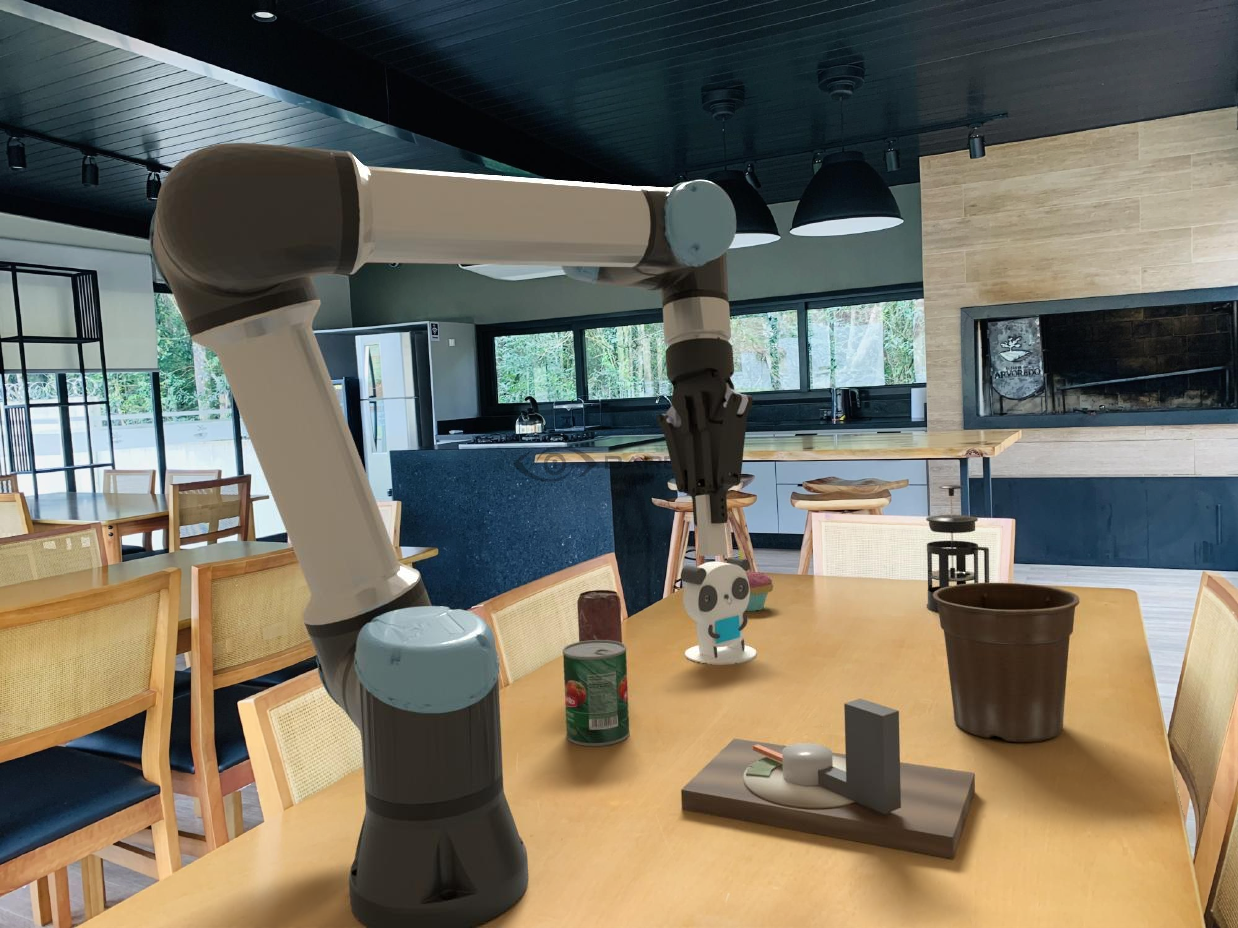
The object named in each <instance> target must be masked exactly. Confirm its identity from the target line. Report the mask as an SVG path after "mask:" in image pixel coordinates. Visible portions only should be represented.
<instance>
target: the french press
mask: <svg viewBox="0 0 1238 928" xmlns="http://www.w3.org/2000/svg"><path fill="white" fill-rule="evenodd" d="M938 488H939V489H940V490H941V489H942V490H948V496H949V498H950V501H949V502H950V514H940V515H934V516H933V515H932V516H931V515H930V516H928V517H926V519H925V520H926V521H927V522H928V526H929V529H930V531H932V533H934V532H935V533H942V534H950V540H937V541H935V540H934V541H930V542H927V543H926V552H927V553H926V554H927V557H926V560H927V604H926V609H927V608H928V609H927V610H929V611H931V610H932V612H934V611H936V612H935V613H939V611H938V604H937V602H936V601H935V600H934V598H933V593H934V592H935V591H937V590H938V589H941V588H945V587H949V586H950V582H952V583H953V582H954V583H955V582H956V585H961V584H967V582H969V581H973V583H979V551H983V555H984V556H983V557H984V558H983V559H984V560H983V561H984V563H983V565H984V567H983V568H984V569H983V570H984V583H990V549H989V547H986V546H985V547H984V546H979V544H978V543H976V542H972V541H967V540H954V534H963V533H973V532H976V522H978V517H977V516H976V517H975V516H970V515H964V514H963V515H962V514H954V513H953V510H954V509H953V507H954V504H953V503H954V502H953V497H954V496H955V490H959V489H963V488H964V486H963V485H959V484H945V485H941V486H939V487H938ZM933 555H938V570H934V571H933ZM970 555H973V571H968V570H967V568H966V567H967V566H966V565H967V564H966V563H967V559H966V556H970ZM949 557H950V558H951V560H950V561H951V567H949V562H950V561H949ZM954 557H956V558H955V563H956V564H955V563H954ZM954 564H955V566H954ZM955 567H956V568H955ZM933 580H935V581H938V583H939V585H938V586H933Z"/></svg>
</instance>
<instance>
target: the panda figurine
mask: <svg viewBox="0 0 1238 928" xmlns="http://www.w3.org/2000/svg"><path fill="white" fill-rule="evenodd" d="M750 564H751V563H750V561H749V560H748V559H747V558H743V559H741V558H740V557H734V556H729V557H728V558H727V559H726V561H725V562H722V561H708V562H705V563H702V564H700V565H698V566H692V565H685V566H684V567H682V569H681V572H680V578H681V581H682V582H684V583H685V585H684V589H683V595H682V604H683V607H684V609H685V612H686V613H687V615H688V616H689V617H690V618H691V619H692V620H693V621H695V624H696V625H695V626H696V627H695V628H696V633H697V635H696V636H697V645H695V646H692V647H689V648H688V649H686V650H685V652H684V656H686V657H687V658H688V659H687V658H686V657H685V658H686V659H687V660H689V661H691V660H692V661H691V662H693V661H695V662H694V663H697V662H700V663H699V664H702V663H707V664H706V665H711V664H712V665H713V666H714V665H715V666H726V665H735V663H737V664H742V663H746V662H749V661H752V660H753V659H755V658H756V656H757V650H756V649H755V648H754V647H751V646H748V645H746V644H745V638H744V637H745V636H744V629H745V627H746V626H747V624H748V621H749V620H748V615H747V614H746V613H745V612H746V611H745V610H746V608H747V605H748V602H749V597H750V586H749V581H748V578H747V575H746V572H748V571H749V570H750V566H751V565H750ZM745 571H746V572H745Z"/></svg>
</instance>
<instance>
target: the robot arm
mask: <svg viewBox="0 0 1238 928" xmlns="http://www.w3.org/2000/svg"><path fill="white" fill-rule="evenodd" d="M736 232H737V216H736V210H735V207H734V204H733V202H732V199H731V198H730V196H729V195H728V193H727V192H726V191H725V190H724V189H723V188H722V187H721V186H719V185H718V184H716V183H714V182H712V181H709V180H705V179H695V180H691V181H683V182H682V181H681V182H680V183H677V184H676V185H674V186H673V187H656V186H644V185H643V186H639V185H638V186H636V185H633V186H632V185H625V184H624V185H622V184H610V183H599V182H595V183H594V182H585V181H584V182H583V181H571V180H570V181H569V180H557V179H556V180H555V179H544V178H530V177H517V176H506V175H505V176H504V175H503V176H502V175H489V174H479V173H478V174H476V173H475V174H474V173H465V172H464V173H462V172H449V171H436V170H435V171H434V170H423V169H421V170H420V169H410V168H409V169H408V168H407V169H406V168H396V167H395V168H393V167H382V166H381V167H380V166H369V165H368V166H367V165H364V164H363V163H361V162H360V161H359V159H357V158H356V156H354V154H353V153H352V152H351V151H347V150H346V151H345V150H336V149H335V150H334V149H323V148H322V149H321V148H311V147H301V146H292V145H291V146H290V145H281V144H268V143H267V144H266V143H254V142H253V143H250V142H230V143H227V142H226V143H219V144H213V145H210V146H206V147H203V148H199V149H198V150H196V151H194V152H191V153H189V154H188V155H186V156H185V157H184V158H182V159H181V160H180V161H178V162H177V163H176V164H175V165H174V166H173V167H172V168H171V169H170V171H169V172H168V173H167V175H166V176H165V178H164V180H163V181H162V184H161V186H160V188H159V192H158V195H157V201H156V208H155V209H154V213H153V215H152V218H151V223H150V228H149V248H150V252H151V253H150V254H151V257H152V260H153V263H154V266H155V269H156V271H157V272H158V275H159V276H160V277H161V279H162V280H164V284H165V285H166V286H167V287H168V288H169V289H170V290H171V291H172V294H173V297H174V299H175V301H176V304H177V307H178V309H179V312H180V315H181V316H182V318H183V319H182V320H183V322H184V324H185V327H186V329H187V332H188V334H189V336H190V339H191V342H193V343H196V344H197V345H200V346H202V347H204V348H206V349H208V350H210V351H212V352H213V353H214V354H215V355H216V356H217V358H218V361H219V363H220V366H221V368H222V371H223V375H224V377H225V378H226V381H227V384H228V386H229V388H230V391H231V394H232V396H233V399H234V401H235V403H236V408H237V410H238V411H239V415H240V417H241V419H242V422H243V424H244V428H245V430H246V432H247V435H248V437H249V439H250V442H251V444H252V448H253V449H254V453H255V455H256V458H257V460H258V462H259V466H260V467H261V470H262V473H263V476H264V478H265V480H266V483H267V486H268V488H269V490H270V494H271V495H272V497H273V501H274V504H275V505H276V509H277V511H278V513H279V516H280V519H281V521H282V524H283V526H284V529H285V531H286V533H287V536H288V538H289V542H290V544H291V546H292V548H293V552H294V553H295V556H296V560H297V561H298V563H299V566H300V569H301V573H302V574H303V576H304V580H305V582H306V584H307V588H308V590H309V592H310V598H309V600H308V603H307V604H306V607H305V609H304V611H303V613H302V617H301V618H302V621H303V623H304V626H305V628H306V631H307V634H308V636H309V638H310V641H311V643H312V646H313V649H314V651H315V653H316V659H315V662H316V664H317V672H318V676H319V680H320V682H321V684H322V686H323V688H324V689H325V691H326V693H327V694H328V696H329V697H330V699H332V700H333V702H334V703H335V704H336V705H338V707H339V708H341V709H342V710H343V711H344V712H345V714H346V715H347V716H348V717H349V719H350V720H351V722H352V723H353V725H355V726H356V727H355V728H357V729H358V731H359V734H360V739H361V750H362V751H361V752H362V767H363V768H362V769H363V779H364V780H363V783H364V785H363V786H364V794H365V814H364V817H363V821H362V825H361V829H360V833H359V836H358V841H357V844H356V849H355V854H354V860H353V862H352V864H351V866H350V870H349V875H348V888H349V903H350V909H351V912H352V913H353V915H354V916H355V917H356V919H357V920H358V922H360V923H362V924H363V925H364V926H366V927H368V928H473V927H476V926H478V925H481V924H483V923H485V922H488V921H490V920H492V919H495V918H496V917H498V916H500V915H502V914H503V913H504V912H505V911H507V910H508V909H510V908H512V906H514V904H516V902H518V901H519V900H520V899H521V897H522V896H523V894H524V893H525V891H526V889H527V887H528V883H529V864H528V863H529V861H528V853H527V847H526V845H525V843H524V841H523V839H522V837H521V836H520V834H519V831H518V828H517V825H516V821H515V818H514V816H513V813H512V811H511V808H510V804H509V802H508V800H507V796H506V794H505V791H504V790H505V789H504V787H505V786H504V773H503V771H504V770H503V751H502V750H503V749H502V748H503V747H502V727H501V725H502V724H501V723H502V722H501V706H500V685H499V673H500V659H499V654H498V652H497V647H496V640H495V634H494V631H493V629H492V627H491V626H490V625H489V624H488V622H487V621H486V620H485V619H484V618H482V617H481V616H479V615H477V614H475V613H473V612H471V611H468V610H464V609H461V608H458V609H451V608H450V607H448V606H438V605H437V606H436V605H432V602H431V601H430V598H429V595H428V591H427V589H426V587H425V585H424V582H423V579H422V576H421V573H420V571H419V570H417V569H416V568H414V567H411V566H408V565H407V564H404V563H402V562H401V561H399V560H398V557H397V555H396V552H395V549H394V546H393V544H392V541H391V538H390V535H389V532H388V529H387V528H386V524H385V521H384V519H383V516H382V514H381V512H380V509H379V506H378V502H377V500H376V498H375V495H374V492H373V490H372V487H371V484H370V482H369V479H368V475H367V473H366V471H365V467H364V466H363V465H364V464H363V463H362V459H361V456H360V455H359V452H358V448H357V446H356V443H355V441H354V438H353V434H352V432H351V430H350V428H349V424H348V422H347V419H346V416H345V414H344V412H343V411H344V410H343V409H342V405H341V402H340V399H339V397H338V395H337V394H338V393H337V391H336V390H335V386H334V384H333V382H332V378H331V376H330V372H329V370H328V367H327V365H326V362H325V359H324V357H323V354H322V351H321V348H320V346H319V343H318V341H317V340H318V339H317V338H316V336H315V332H314V330H313V327H312V326H313V321H314V318H315V317H316V315H317V312H318V311H319V308H320V306H321V304H322V303H321V299H320V298H319V294H318V291H317V289H316V285H315V283H314V280H313V278H312V277H313V276H319V275H354V274H356V272H358V270H359V269H360V268H362V267H363V265H364V264H366V263H383V264H384V263H385V264H389V263H390V264H392V263H393V264H394V263H395V264H398V263H399V264H437V265H438V264H439V265H440V264H441V265H442V264H444V265H445V264H447V265H453V264H454V265H496V266H497V265H498V266H499V265H500V266H503V265H504V266H550V267H551V266H553V267H554V266H555V267H556V266H557V267H560V266H561V269H562V271H563V272H564V273H565V275H566V276H567V277H569V278H570V279H573V280H576V281H582V282H586V283H589V284H591V285H594V286H595V285H596V284H599V285H608V286H616V287H623V288H631V289H632V288H633V289H643V290H647V291H654V292H655V291H657V292H660V295H661V304H662V305H661V306H662V318H663V321H662V322H663V339H664V340H663V342H664V344H665V345H667V346H668V347H667V348H666V350H665V352H664V353H665V363H666V364H665V368H666V378H667V380H668V381H669V382H670V383H671V385H672V390H673V391H672V395H671V399H670V402H671V407H670V408H669V409H668V410H667V411H666V412H665V413H658V415H657V417H656V422H657V424H658V426H659V427H660V429H661V430H662V432H663V435H664V440H665V443H666V447H667V452H668V457H669V460H670V464H671V470H672V473H673V478H674V481H675V485H676V490H677V492H678V493H684V494H686V495H689V496H690V497H691V501H692V503H691V504H692V515H693V523H694V526H695V527H696V526H697V538H698V539H697V540H698V541H697V542H698V543H697V544H698V553H699V555H698V556H699V557H711V556H712V557H715V556H727V555H728V554H727V552H728V551H727V542H726V526H725V525H726V523H728V519H729V516H728V503H727V500H728V499H727V493H728V492H729V490H731V488H733V487H739V485H740V484H741V481H742V480H741V478H742V469H743V461H744V460H743V458H744V450H745V440H746V431H747V423H748V422H747V419H748V416H749V412H750V411H751V408H752V405H753V402H754V398H753V397H752V395H749V394H742V393H740V392H738V391H737V390H735V386H734V383H733V380H732V377H733V375H734V373H735V363H734V352H733V351H734V350H733V349H734V347H733V345H732V343H730V341H731V338H732V330H731V329H732V328H731V327H732V326H731V316H730V312H731V311H730V303H729V285H728V268H727V251H728V250H729V249H730V247H731V245H732V244H733V241H734V239H735V237H736ZM729 340H730V341H729Z"/></svg>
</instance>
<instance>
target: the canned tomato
mask: <svg viewBox="0 0 1238 928" xmlns="http://www.w3.org/2000/svg"><path fill="white" fill-rule="evenodd" d="M562 655H563V674H564V675H563V680H564V701H565V724H566V726H565V727H566V733H565V734H566V739H567V740H568V742H570V743H572V744H575V745H578V746H583V747H603V746H610V745H615V744H617V743H621V742H623V741H625V740H626V739H627V738H629V736H630V734H631V732H630V718H629V717H630V715H629V714H630V711H629V692H628V691H629V690H628V689H629V688H628V667H627V664H628V660H627V646H626V644H625V643H623V642H622V643H621V642H617V641H610V640H590V641H582V642H579V641H578V642H573V643H571V644H568V645H566V646H565V647H564V648H563V649H562Z"/></svg>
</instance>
